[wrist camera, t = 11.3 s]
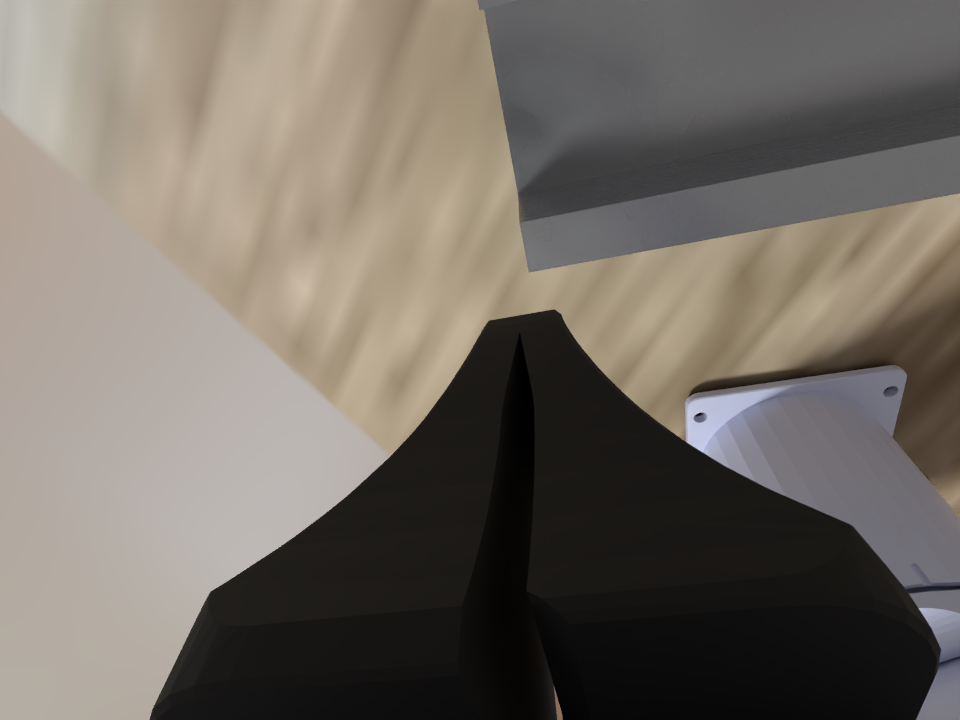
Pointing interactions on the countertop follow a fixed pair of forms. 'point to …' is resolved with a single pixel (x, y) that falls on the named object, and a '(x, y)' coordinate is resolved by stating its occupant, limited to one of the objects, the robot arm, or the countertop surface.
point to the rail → (719, 115)
